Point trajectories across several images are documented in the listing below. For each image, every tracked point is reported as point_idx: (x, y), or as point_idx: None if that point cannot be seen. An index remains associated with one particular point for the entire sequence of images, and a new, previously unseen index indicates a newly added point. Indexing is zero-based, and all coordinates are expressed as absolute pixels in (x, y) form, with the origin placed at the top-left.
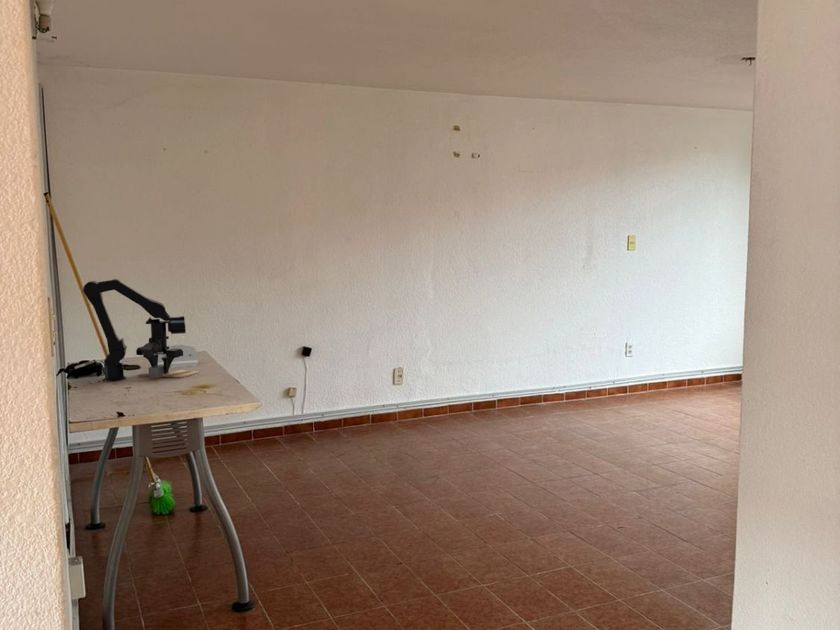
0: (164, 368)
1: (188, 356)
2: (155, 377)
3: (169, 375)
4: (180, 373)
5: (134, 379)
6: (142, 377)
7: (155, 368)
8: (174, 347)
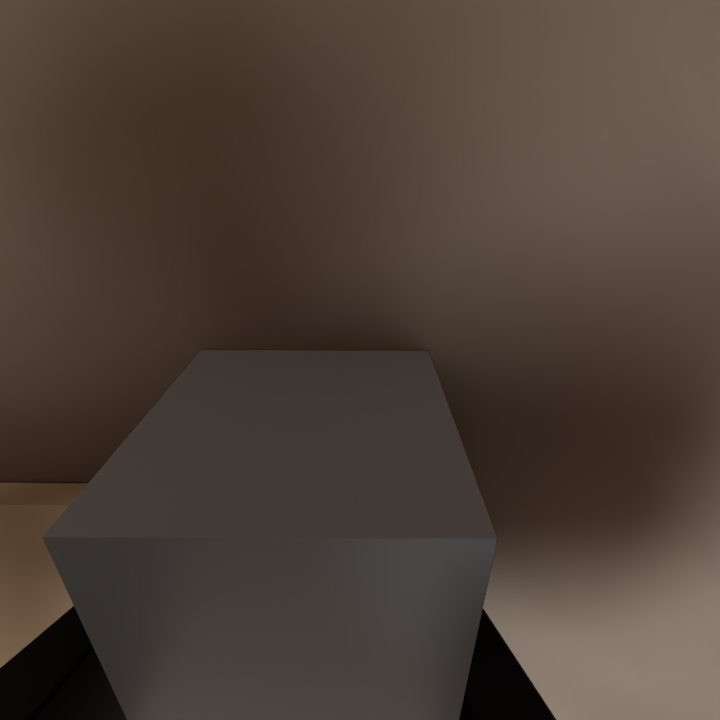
0: (62, 653)
1: None
2: (250, 355)
3: (35, 502)
4: (14, 638)
5: (702, 13)
6: (583, 309)
7: (126, 520)
8: None
